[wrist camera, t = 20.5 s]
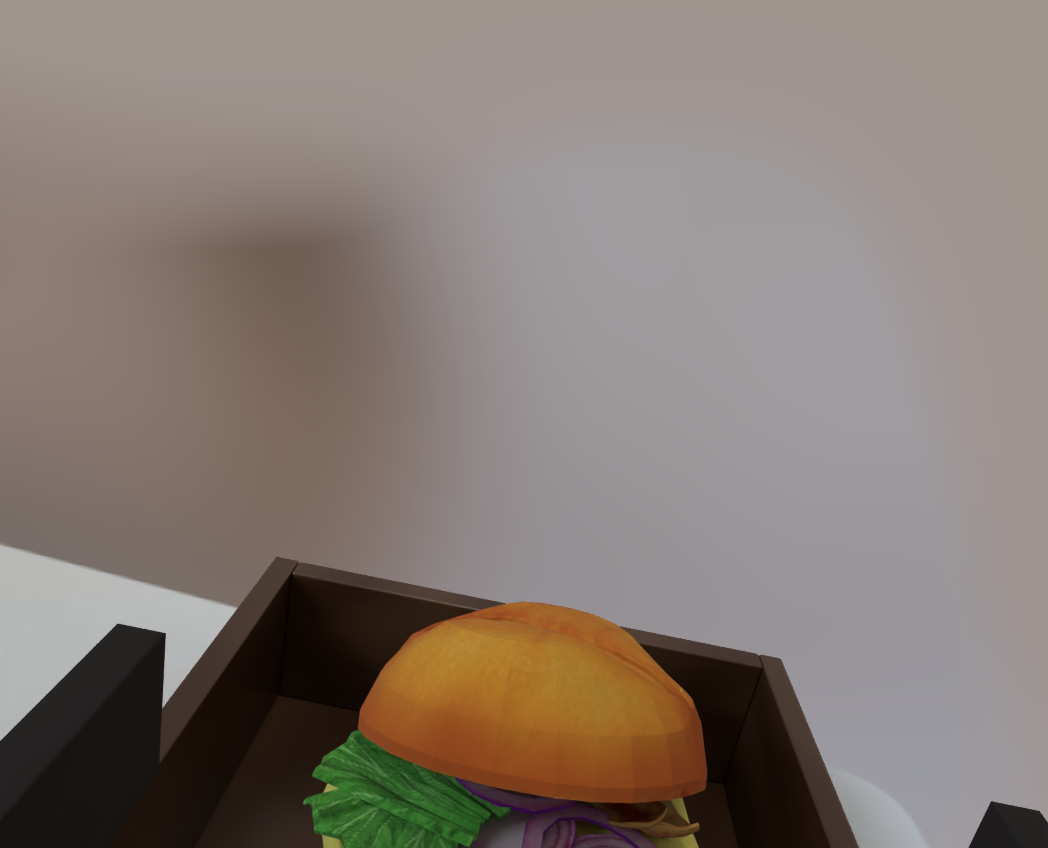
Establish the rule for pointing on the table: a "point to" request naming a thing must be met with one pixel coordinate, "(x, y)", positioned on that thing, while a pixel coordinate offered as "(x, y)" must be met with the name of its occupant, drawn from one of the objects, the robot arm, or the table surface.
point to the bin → (349, 674)
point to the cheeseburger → (516, 741)
